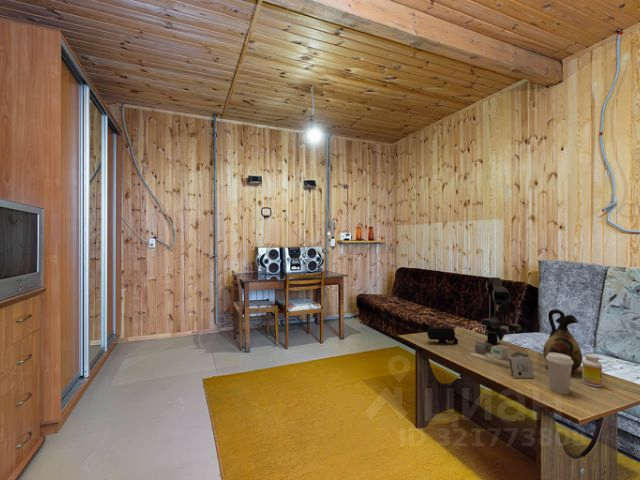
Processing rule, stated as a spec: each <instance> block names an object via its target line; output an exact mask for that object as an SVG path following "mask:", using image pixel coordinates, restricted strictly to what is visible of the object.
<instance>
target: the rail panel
mask: <svg viewBox="0 0 640 480" xmlns="http://www.w3.org/2000/svg"><path fill="white" fill-rule="evenodd" d="M485 342H486V341H481V342H478V343H476V344H474V352H471V353H470V355H469V356H471V357H473V358H477V359H480V360H483V361H486V362H489V363H493V364H496V365H499V366H502V367H504V368H508V369H510V363H509V358H511V357H529V353H526V352H522V351H515V352H513V353H511V354H510V353H509V357H506V358H503V359H499V358H496V357H493V356H492V344H489V343H485ZM531 362H532V363H533V360H532V359H531Z"/></svg>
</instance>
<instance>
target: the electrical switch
mask: <svg viewBox="0 0 640 480" xmlns="http://www.w3.org/2000/svg"><path fill="white" fill-rule="evenodd" d="M531 360H532V358H531V357H529V356H528V357H511V358H509V363H510V368H509V369H510V374H511V376H513V378H514V379H534V378H535V374H534V368H533V364H532V363H533V361H532V362H531Z"/></svg>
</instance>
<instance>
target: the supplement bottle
mask: <svg viewBox="0 0 640 480" xmlns="http://www.w3.org/2000/svg"><path fill="white" fill-rule="evenodd" d="M584 357H585V359H582V364H581V366H582V370H581V371H582V372H581V373H582V377H581V378H582V383H584V384H585V385H587V386H589V387H595V388H600V387H602V386H603V385H602V384H603V365H602V363H601V362H600V361H599V360H600V357H599V356H598V355H595V354H591V353H586V354H585V355H584Z"/></svg>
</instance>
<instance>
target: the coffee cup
mask: <svg viewBox="0 0 640 480" xmlns="http://www.w3.org/2000/svg"><path fill="white" fill-rule="evenodd" d="M546 359H547V361H546V362H547V363H546V364H547V365H546V366H547V374H548V381H549V390H550V391H552V392H553V391H554V393H556V394H559V393H560V394H559V395H568V394H569V393H570V387H571V377H572V375H571V370H572V365H573V364H574V363H573V361H572V359H571V357H570V356H567V355H564V354H560V353H548V355H547V356H546Z"/></svg>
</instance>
